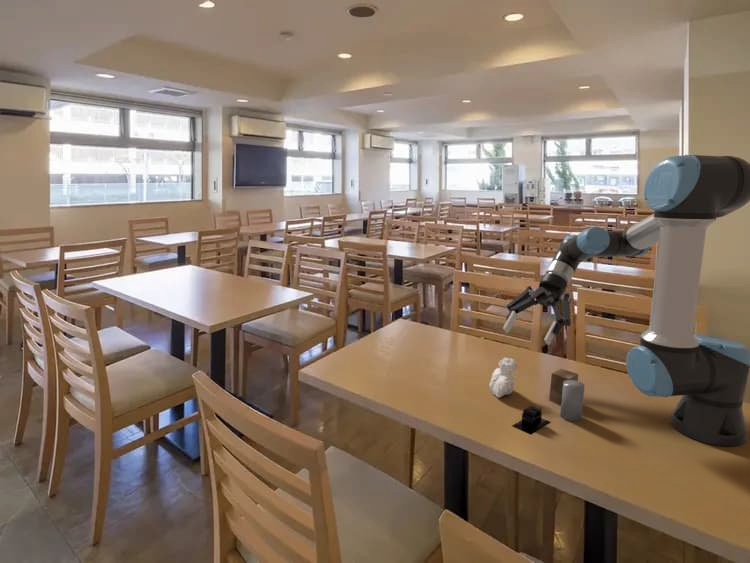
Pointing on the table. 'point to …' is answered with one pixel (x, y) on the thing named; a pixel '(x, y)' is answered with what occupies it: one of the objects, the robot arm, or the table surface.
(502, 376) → the bust
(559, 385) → the walnut block
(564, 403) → the grey rounded cylinder
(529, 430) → the notched block on base
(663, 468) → the table surface
